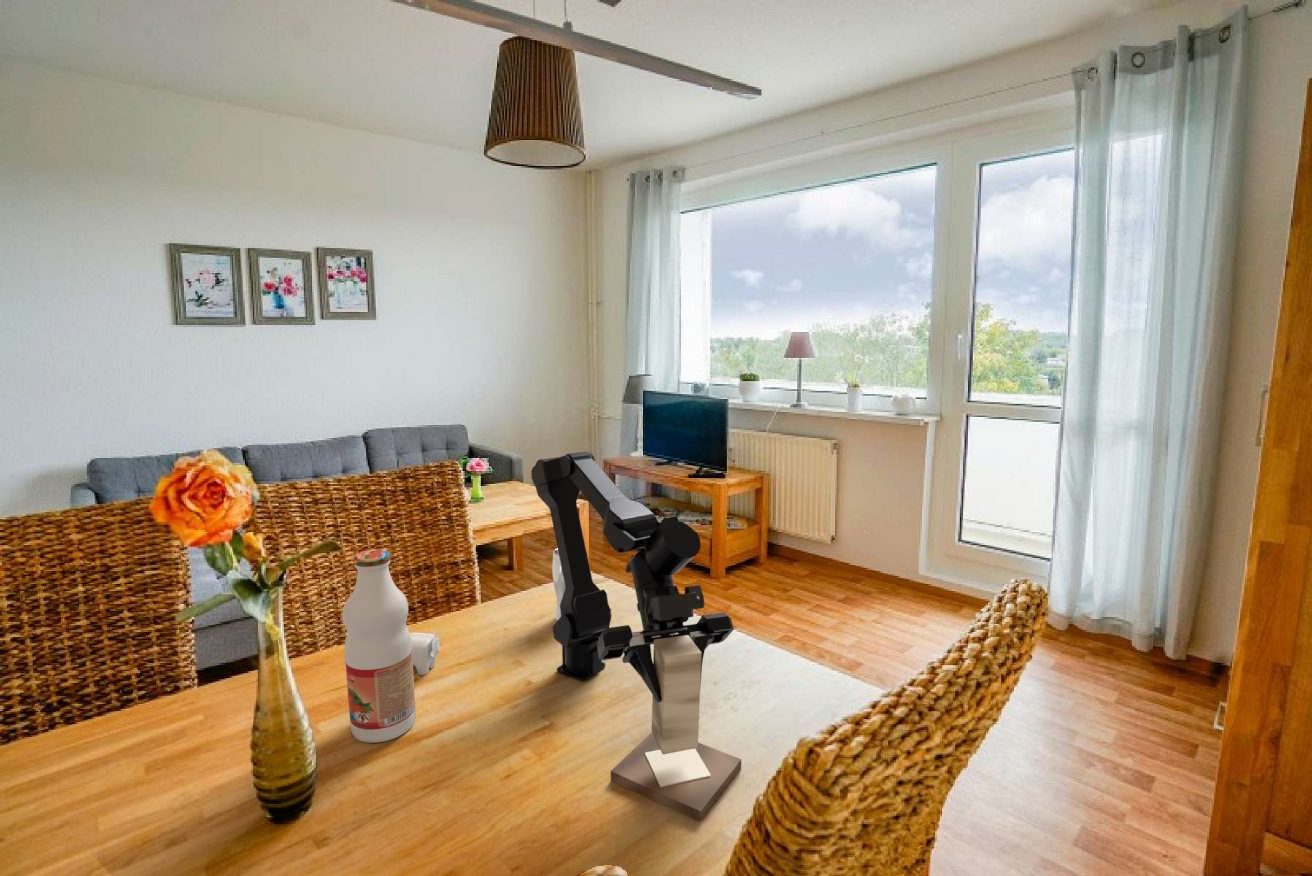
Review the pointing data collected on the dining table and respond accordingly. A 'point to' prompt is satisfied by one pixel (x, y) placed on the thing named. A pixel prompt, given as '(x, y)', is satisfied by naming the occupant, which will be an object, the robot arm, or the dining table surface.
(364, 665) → the fruit juice
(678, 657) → the birch pillar block
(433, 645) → the elephant figurine
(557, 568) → the beer glass
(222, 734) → the dining table surface
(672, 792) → the walnut base board
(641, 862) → the dining table surface
